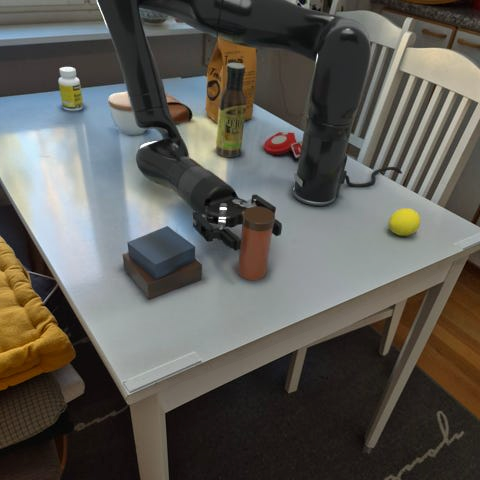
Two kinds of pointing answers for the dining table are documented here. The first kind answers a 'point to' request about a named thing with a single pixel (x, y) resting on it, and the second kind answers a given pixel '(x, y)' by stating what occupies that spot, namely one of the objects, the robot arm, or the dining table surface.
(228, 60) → the coffee package
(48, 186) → the dining table surface
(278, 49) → the robot arm
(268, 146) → the tracker holder
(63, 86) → the supplement bottle
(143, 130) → the trinket box
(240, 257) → the terracotta canister
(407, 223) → the lemon
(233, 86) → the sauce bottle
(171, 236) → the block stack
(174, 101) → the sunglasses case
